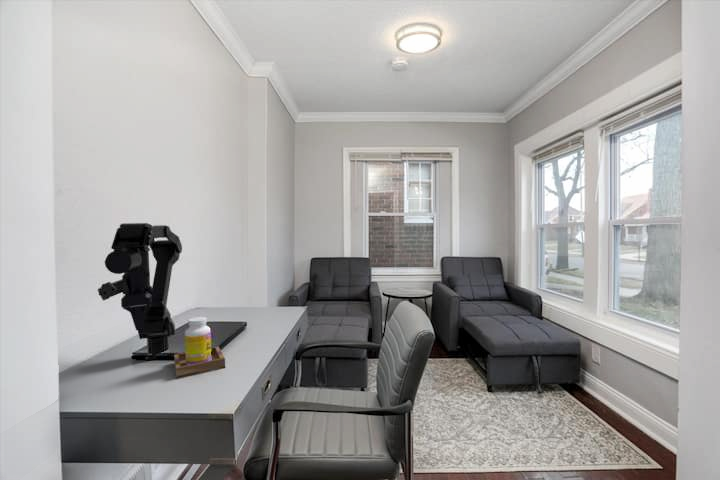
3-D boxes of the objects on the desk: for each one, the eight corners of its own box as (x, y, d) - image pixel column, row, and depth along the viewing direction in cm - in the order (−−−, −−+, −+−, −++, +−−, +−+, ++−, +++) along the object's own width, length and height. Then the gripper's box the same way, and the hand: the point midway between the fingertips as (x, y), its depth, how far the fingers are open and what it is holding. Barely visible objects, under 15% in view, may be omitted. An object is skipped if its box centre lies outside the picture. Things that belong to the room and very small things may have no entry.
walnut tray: (174, 363, 96) (174, 354, 96) (218, 354, 103) (218, 345, 103) (176, 378, 86) (176, 368, 86) (225, 367, 92) (224, 358, 92)
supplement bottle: (210, 366, 92) (208, 320, 92) (183, 369, 90) (182, 323, 90) (213, 357, 99) (211, 314, 98) (188, 360, 97) (186, 317, 96)
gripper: (104, 268, 93) (107, 322, 94) (93, 275, 77) (96, 341, 78) (150, 265, 99) (153, 316, 100) (149, 271, 83) (152, 332, 84)
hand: (139, 325), depth 90 cm, fingers open, 9 cm apart
